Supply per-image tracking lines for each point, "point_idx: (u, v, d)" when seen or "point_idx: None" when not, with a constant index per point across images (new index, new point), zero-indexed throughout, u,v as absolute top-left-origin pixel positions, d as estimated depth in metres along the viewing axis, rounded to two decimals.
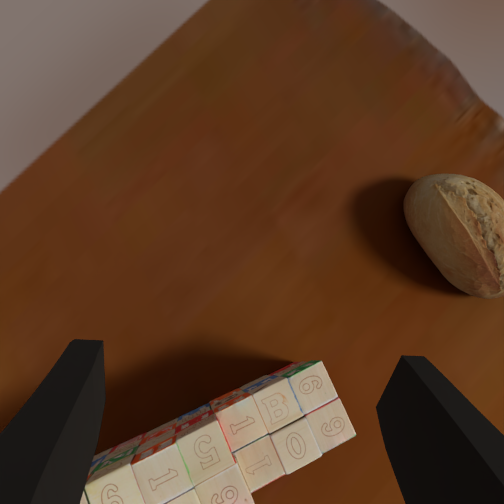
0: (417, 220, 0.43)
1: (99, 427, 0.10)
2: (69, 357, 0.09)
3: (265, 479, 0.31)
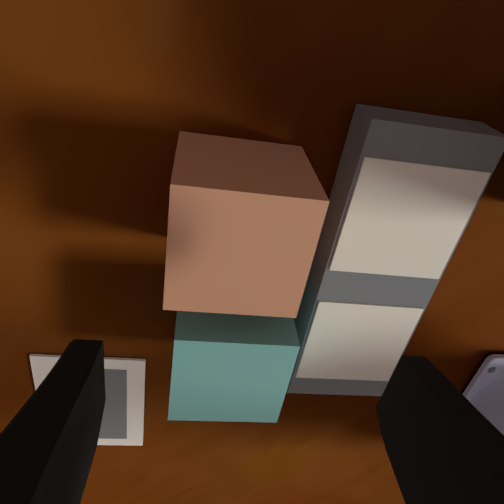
0: None
1: (99, 427, 0.10)
2: (69, 357, 0.09)
3: None
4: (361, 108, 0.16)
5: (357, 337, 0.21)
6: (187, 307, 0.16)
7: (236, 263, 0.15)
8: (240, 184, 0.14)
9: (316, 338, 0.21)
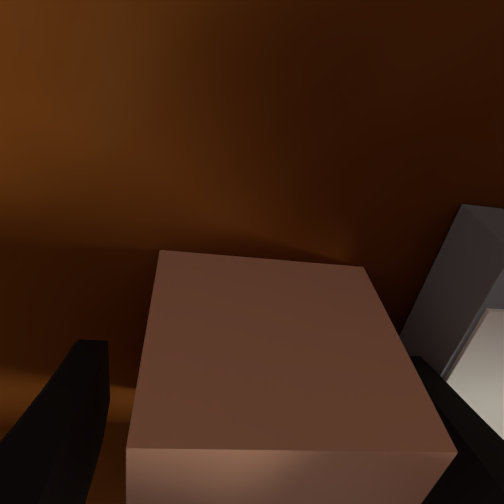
0: None
1: (104, 427, 0.10)
2: (74, 357, 0.09)
3: None
4: (477, 218, 0.09)
5: None
6: None
7: None
8: (274, 419, 0.07)
9: None
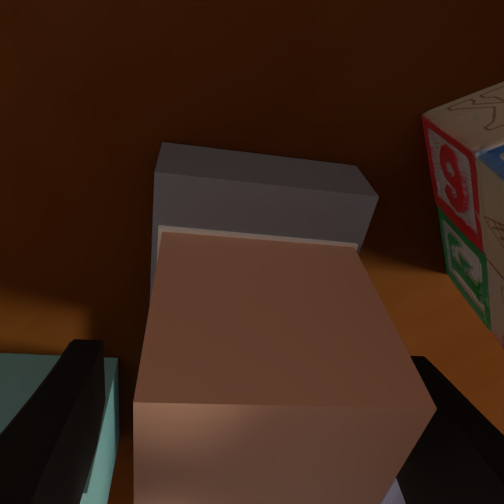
0: None
1: (99, 427, 0.10)
2: (69, 357, 0.09)
3: None
4: (160, 151, 0.11)
5: None
6: None
7: (259, 493, 0.08)
8: (267, 379, 0.07)
9: None
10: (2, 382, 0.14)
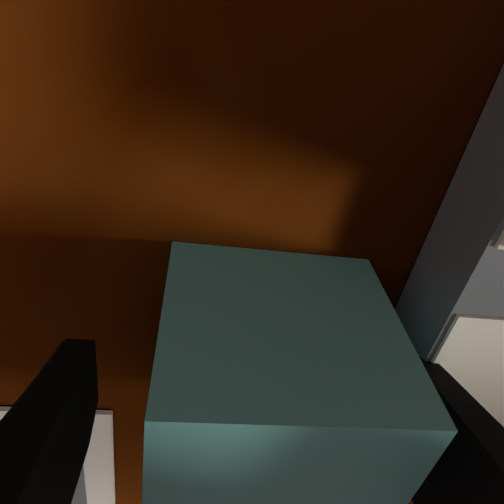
0: None
1: (91, 427, 0.10)
2: (60, 357, 0.09)
3: None
4: None
5: None
6: None
7: None
8: None
9: None
10: (235, 278, 0.10)
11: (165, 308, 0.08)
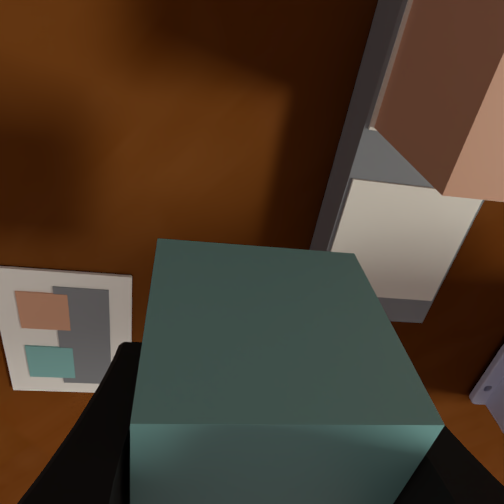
0: None
1: None
2: (122, 359, 0.09)
3: None
4: None
5: (398, 235, 0.17)
6: (479, 192, 0.10)
7: None
8: None
9: (346, 236, 0.17)
10: (221, 276, 0.09)
11: (150, 308, 0.08)
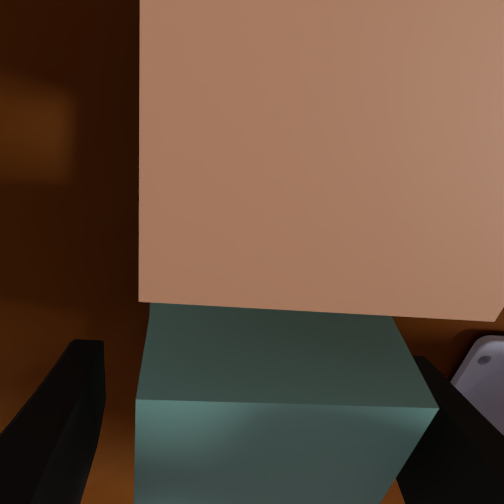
0: None
1: (99, 427, 0.10)
2: (69, 357, 0.09)
3: None
4: None
5: None
6: (208, 294, 0.05)
7: (370, 146, 0.05)
8: None
9: None
10: None
11: None
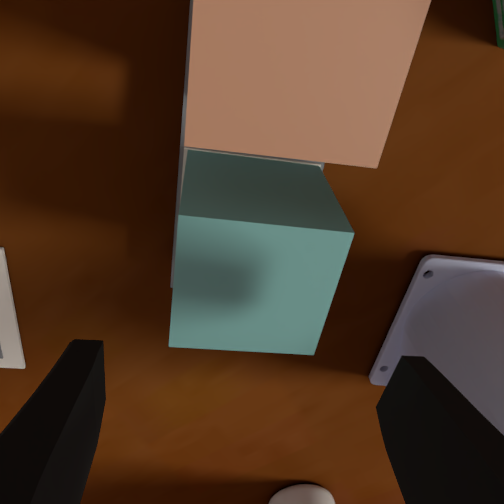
0: None
1: (99, 427, 0.10)
2: (69, 357, 0.09)
3: None
4: None
5: None
6: (220, 143, 0.11)
7: (297, 58, 0.10)
8: None
9: None
10: (229, 168, 0.15)
11: (185, 177, 0.14)
